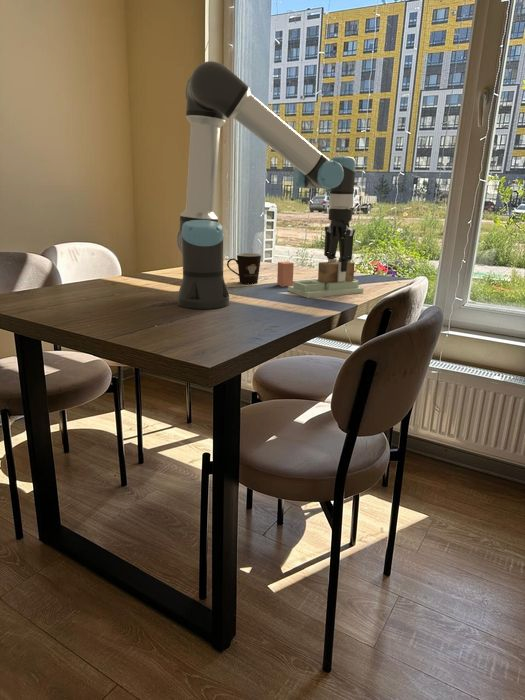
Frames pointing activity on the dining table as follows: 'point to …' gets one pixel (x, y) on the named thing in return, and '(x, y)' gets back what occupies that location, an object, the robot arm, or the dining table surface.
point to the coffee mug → (247, 267)
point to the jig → (324, 288)
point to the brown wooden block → (334, 271)
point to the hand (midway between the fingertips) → (336, 279)
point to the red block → (285, 274)
